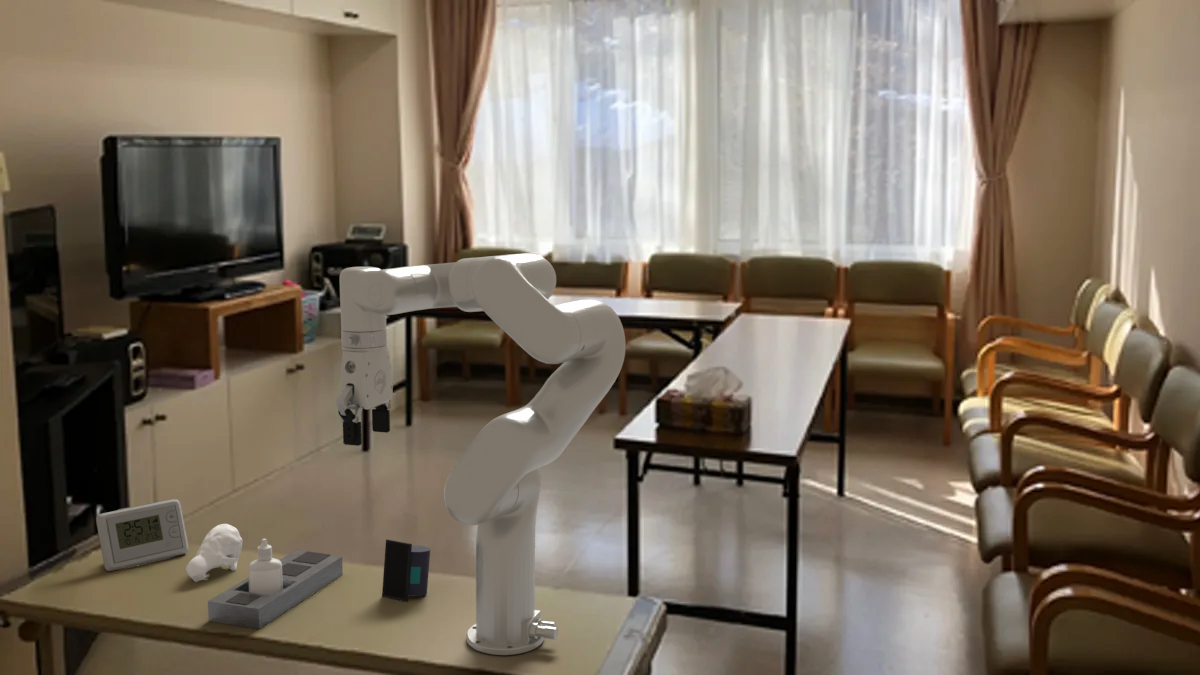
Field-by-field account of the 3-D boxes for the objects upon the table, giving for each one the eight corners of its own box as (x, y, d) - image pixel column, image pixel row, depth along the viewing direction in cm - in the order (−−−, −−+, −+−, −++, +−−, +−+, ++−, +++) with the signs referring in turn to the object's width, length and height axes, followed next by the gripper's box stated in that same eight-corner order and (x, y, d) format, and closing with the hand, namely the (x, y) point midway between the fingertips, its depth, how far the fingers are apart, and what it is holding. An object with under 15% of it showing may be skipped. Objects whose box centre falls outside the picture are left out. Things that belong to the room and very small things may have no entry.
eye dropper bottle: (274, 611, 187) (272, 545, 185) (245, 608, 188) (242, 542, 186) (287, 601, 191) (285, 536, 189) (258, 598, 192) (256, 533, 190)
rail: (342, 574, 204) (342, 556, 204) (259, 629, 180) (258, 608, 179) (296, 567, 207) (296, 549, 207) (208, 620, 183) (207, 600, 182)
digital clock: (102, 575, 202) (98, 520, 201) (95, 560, 210) (92, 507, 208) (193, 559, 211) (190, 507, 209) (183, 545, 218) (181, 495, 217)
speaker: (400, 604, 190) (402, 546, 189) (381, 596, 194) (383, 539, 193) (435, 597, 195) (437, 540, 195) (416, 589, 199) (418, 534, 199)
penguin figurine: (244, 522, 206) (200, 548, 195) (248, 563, 208) (205, 591, 197) (217, 518, 208) (172, 543, 198) (221, 559, 211) (178, 586, 200)
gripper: (357, 348, 174) (361, 451, 177) (407, 333, 191) (410, 428, 193) (316, 346, 177) (320, 448, 179) (370, 331, 193) (372, 425, 196)
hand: (367, 438), depth 186 cm, fingers open, 9 cm apart
